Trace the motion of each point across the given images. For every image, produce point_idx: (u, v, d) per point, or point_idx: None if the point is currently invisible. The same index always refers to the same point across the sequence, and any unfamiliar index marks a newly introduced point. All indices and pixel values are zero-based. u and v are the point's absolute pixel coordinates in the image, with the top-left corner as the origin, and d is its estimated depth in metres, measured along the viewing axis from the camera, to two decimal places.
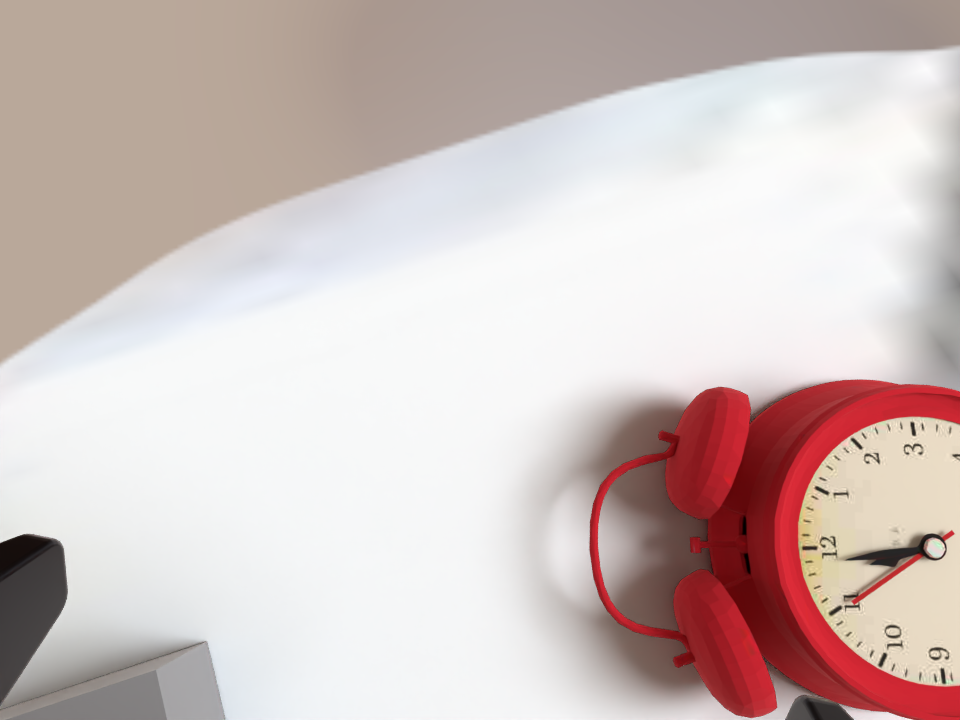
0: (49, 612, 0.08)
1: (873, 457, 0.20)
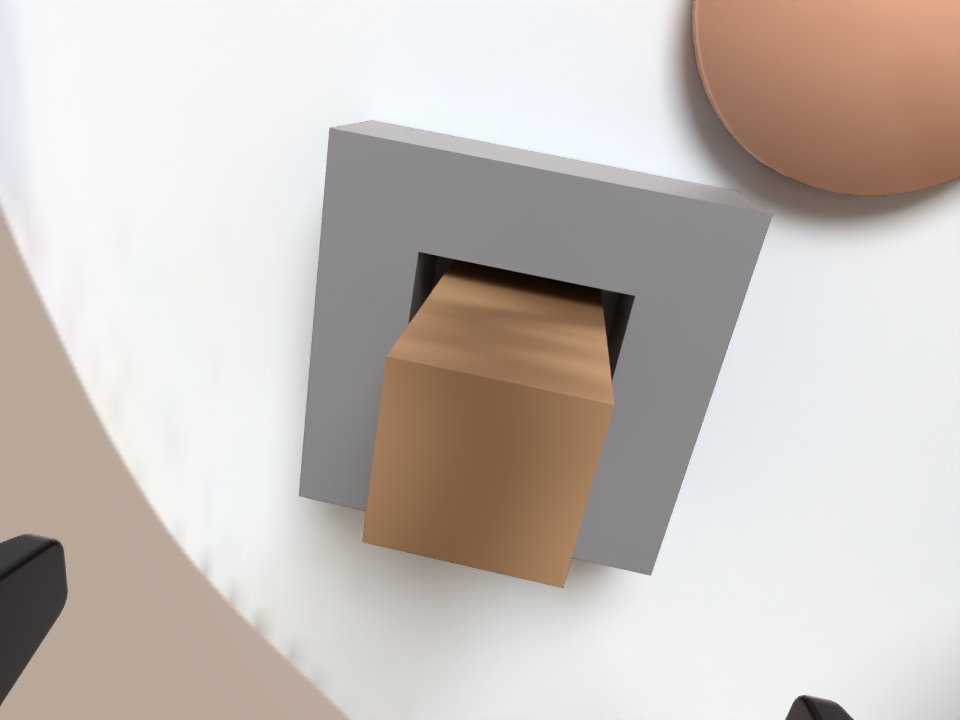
0: (49, 612, 0.08)
1: None
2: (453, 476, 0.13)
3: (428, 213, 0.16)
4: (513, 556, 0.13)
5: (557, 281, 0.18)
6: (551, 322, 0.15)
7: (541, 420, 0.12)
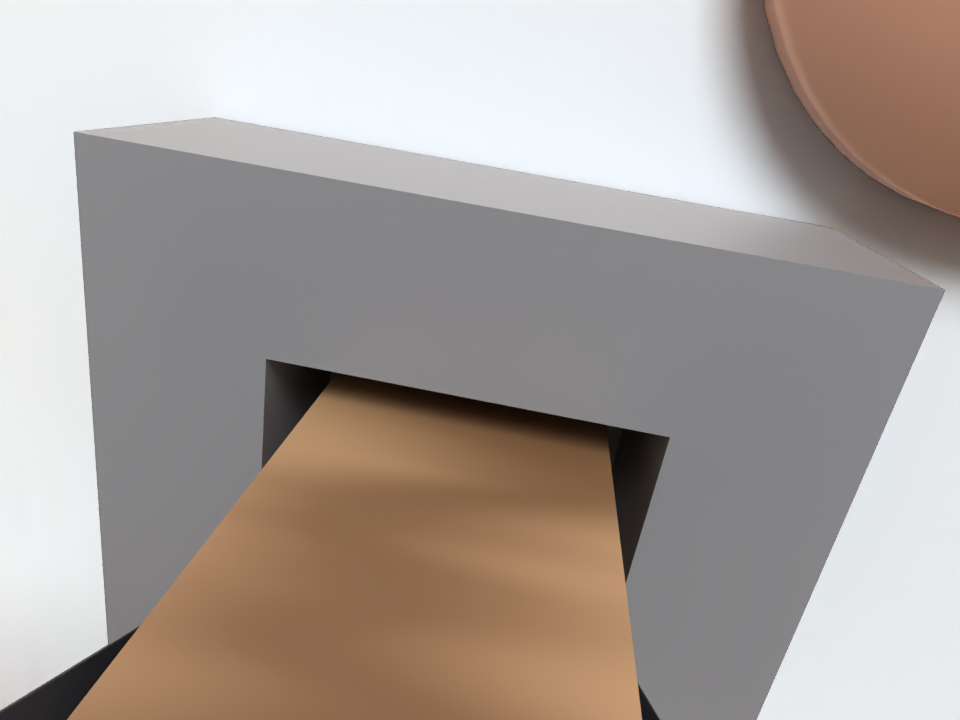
0: None
1: None
2: None
3: (277, 290, 0.08)
4: None
5: None
6: (511, 511, 0.08)
7: None
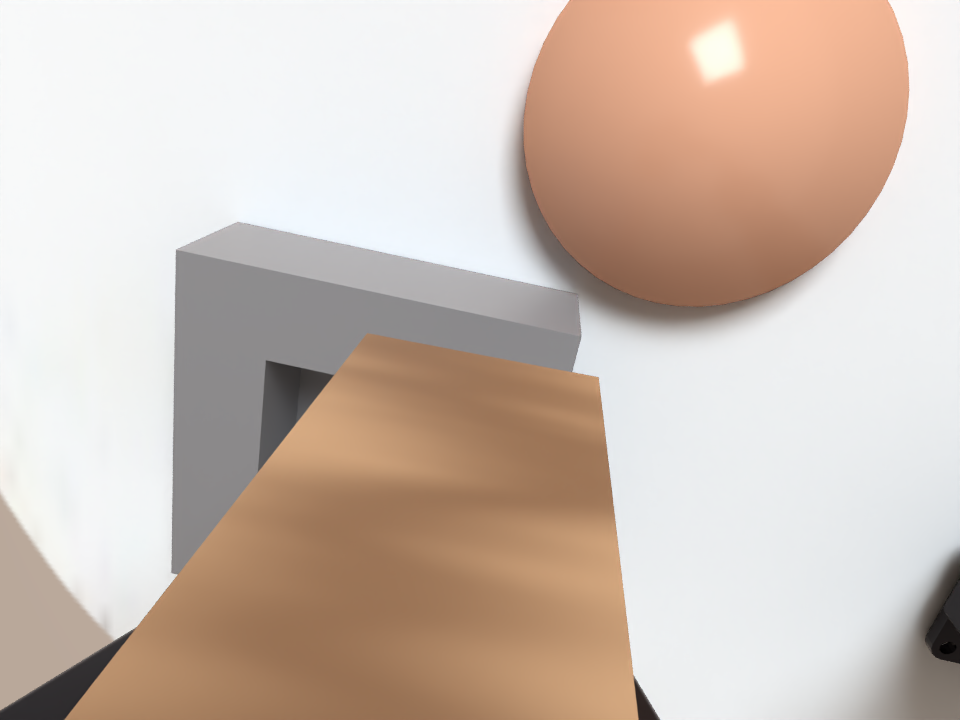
0: None
1: None
2: None
3: (272, 327, 0.17)
4: None
5: (527, 385, 0.11)
6: (508, 511, 0.08)
7: None
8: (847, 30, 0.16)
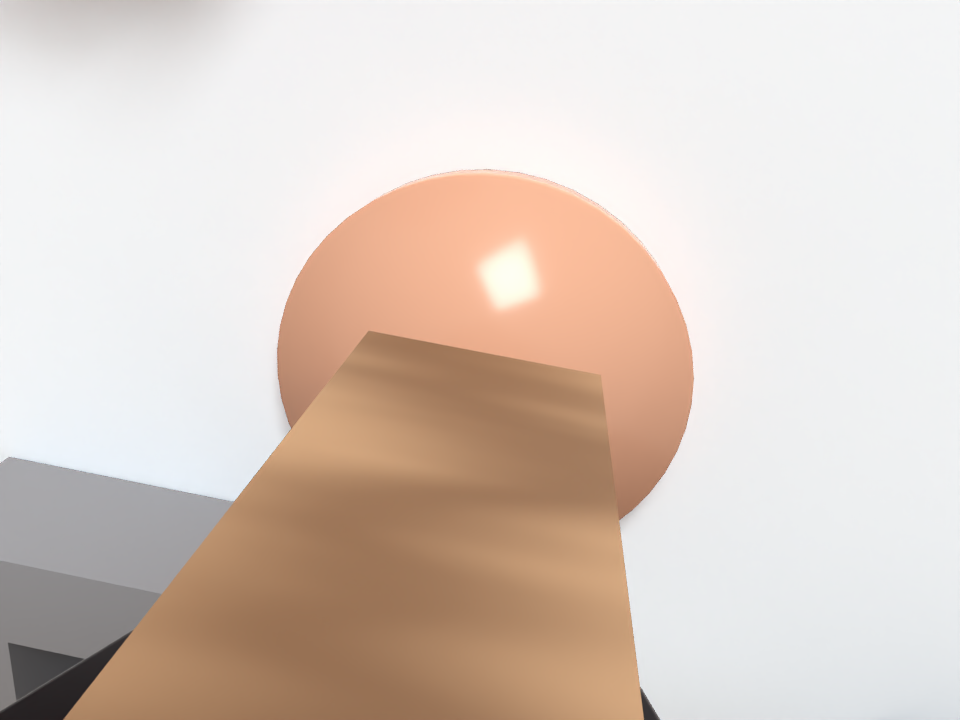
0: None
1: None
2: None
3: (7, 612, 0.16)
4: None
5: (529, 382, 0.11)
6: (511, 509, 0.08)
7: None
8: (614, 293, 0.14)
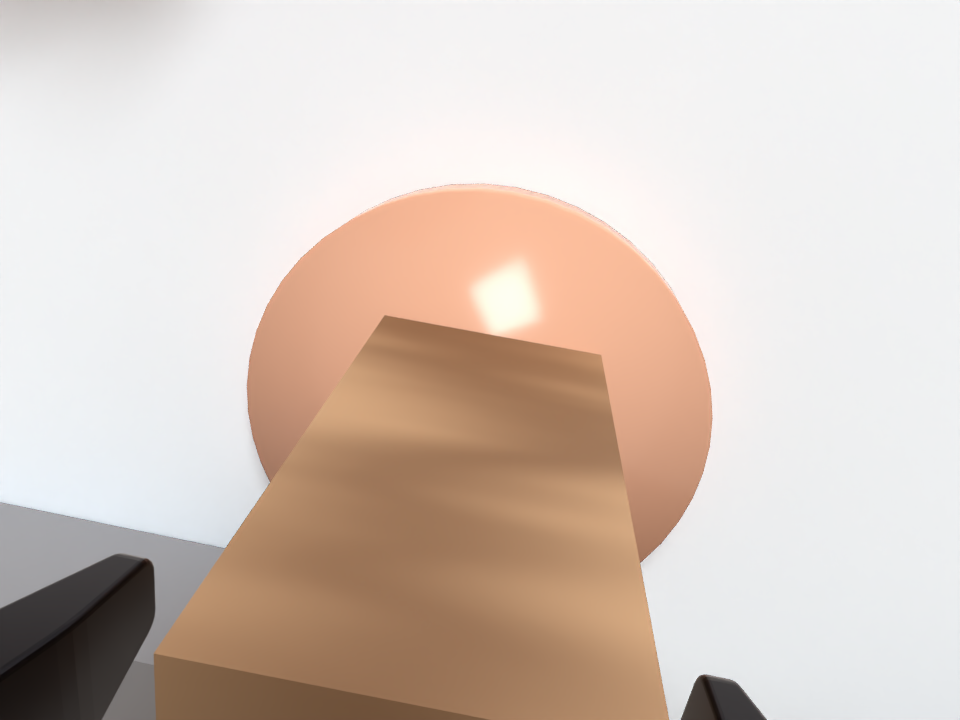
0: (140, 631, 0.08)
1: None
2: None
3: None
4: None
5: (536, 361, 0.12)
6: (529, 469, 0.09)
7: None
8: (623, 323, 0.12)
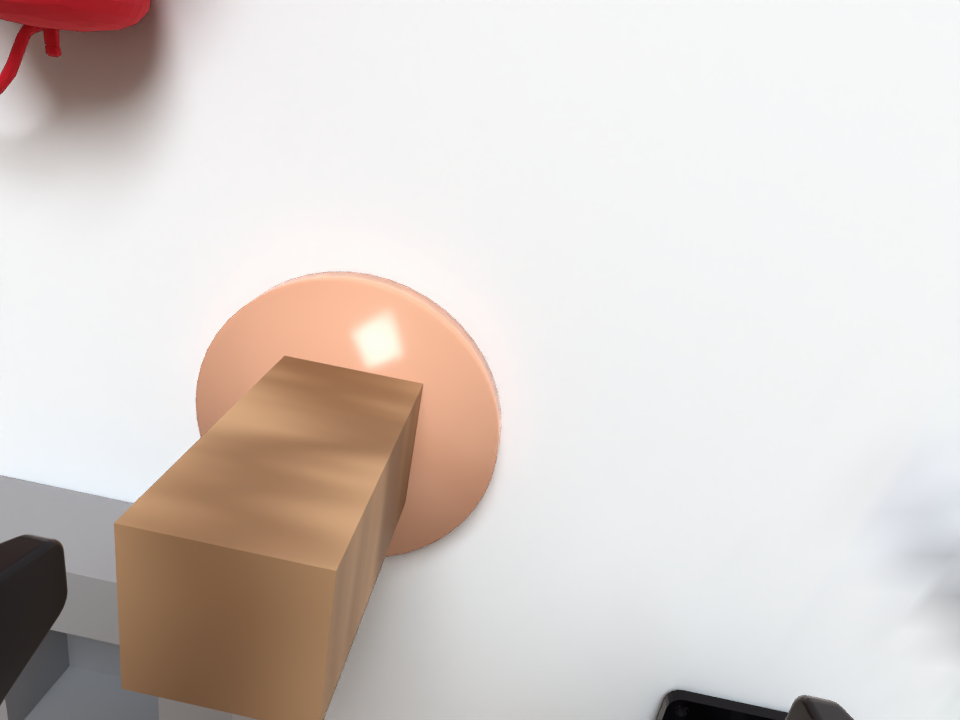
0: (49, 612, 0.08)
1: None
2: (197, 631, 0.13)
3: None
4: (266, 704, 0.13)
5: (374, 388, 0.19)
6: (332, 452, 0.15)
7: (270, 583, 0.12)
8: (435, 364, 0.19)
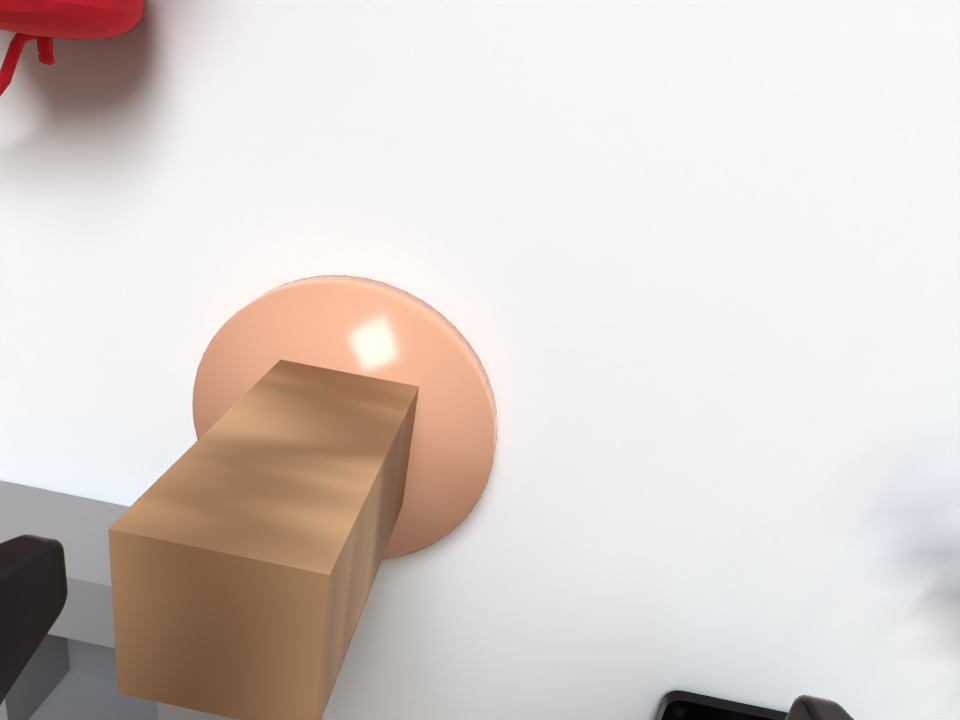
0: (49, 612, 0.08)
1: None
2: (192, 636, 0.13)
3: None
4: (261, 707, 0.13)
5: (370, 391, 0.19)
6: (327, 456, 0.15)
7: (264, 587, 0.12)
8: (430, 367, 0.19)
